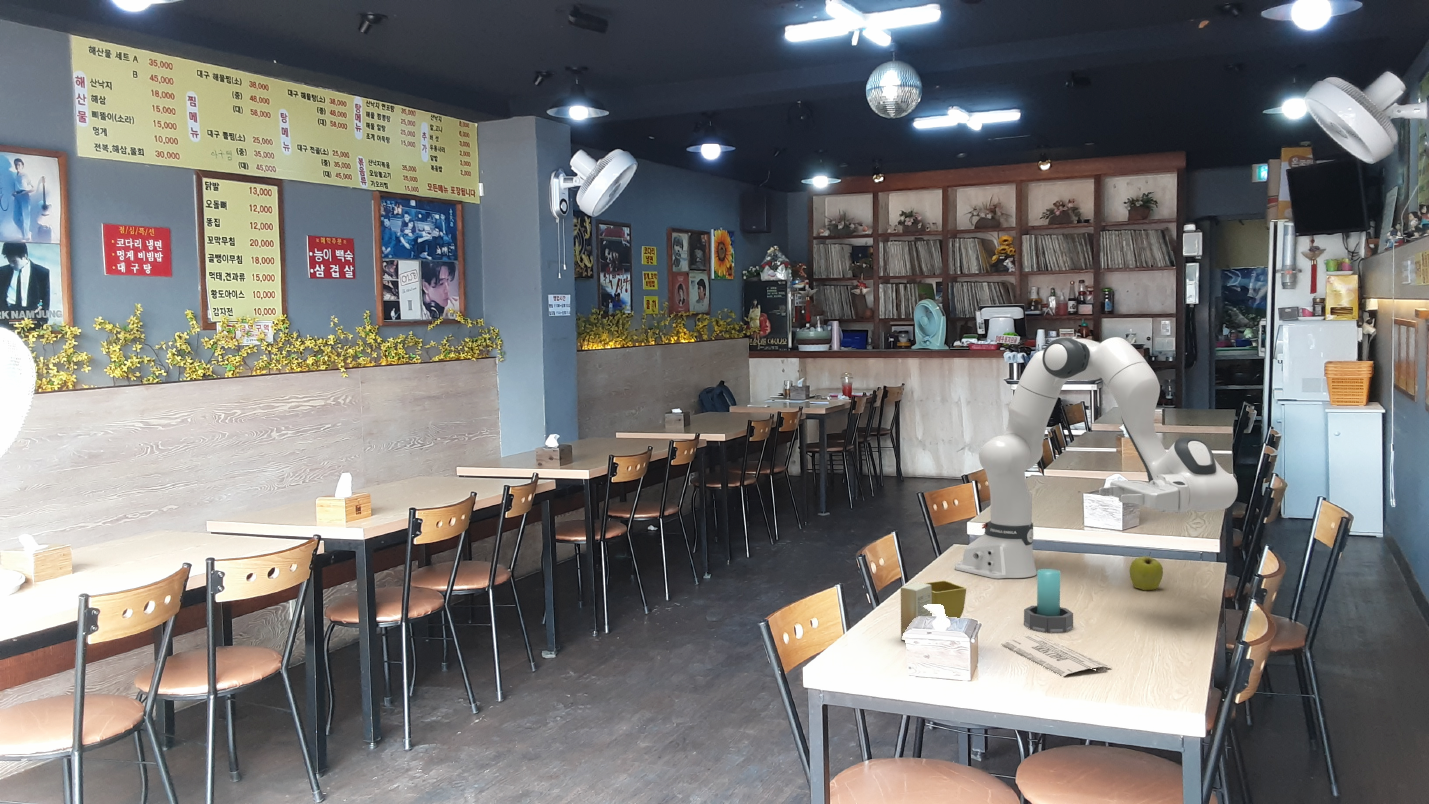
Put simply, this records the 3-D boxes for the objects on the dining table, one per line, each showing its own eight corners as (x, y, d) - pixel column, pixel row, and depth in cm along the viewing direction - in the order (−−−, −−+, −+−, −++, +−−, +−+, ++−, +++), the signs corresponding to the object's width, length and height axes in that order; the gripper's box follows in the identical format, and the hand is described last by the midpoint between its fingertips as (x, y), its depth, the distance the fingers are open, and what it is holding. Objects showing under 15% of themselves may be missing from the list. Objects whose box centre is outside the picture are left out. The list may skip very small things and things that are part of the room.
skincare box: (916, 634, 235) (916, 580, 234) (932, 638, 232) (932, 584, 231) (899, 640, 230) (899, 586, 229) (915, 644, 227) (916, 589, 226)
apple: (1128, 578, 278) (1141, 545, 275) (1159, 591, 274) (1171, 557, 271) (1121, 585, 271) (1133, 550, 269) (1151, 598, 267) (1164, 563, 265)
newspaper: (1115, 673, 209) (1115, 661, 209) (1064, 686, 205) (1063, 674, 205) (1047, 640, 231) (1046, 629, 230) (999, 651, 227) (998, 640, 227)
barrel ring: (1016, 627, 239) (1017, 612, 239) (1036, 617, 247) (1036, 602, 247) (1060, 635, 232) (1060, 620, 232) (1079, 625, 240) (1079, 610, 240)
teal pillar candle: (1033, 623, 239) (1033, 571, 238) (1042, 618, 243) (1043, 567, 242) (1054, 627, 236) (1054, 575, 235) (1063, 622, 240) (1064, 571, 239)
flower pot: (913, 621, 245) (913, 583, 244) (944, 616, 248) (944, 579, 248) (935, 631, 237) (935, 592, 236) (967, 626, 240) (967, 588, 240)
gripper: (1144, 473, 251) (1089, 475, 249) (1191, 486, 231) (1132, 488, 229) (1144, 499, 251) (1089, 501, 250) (1191, 514, 231) (1131, 516, 230)
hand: (1110, 495), depth 239 cm, fingers open, 8 cm apart
